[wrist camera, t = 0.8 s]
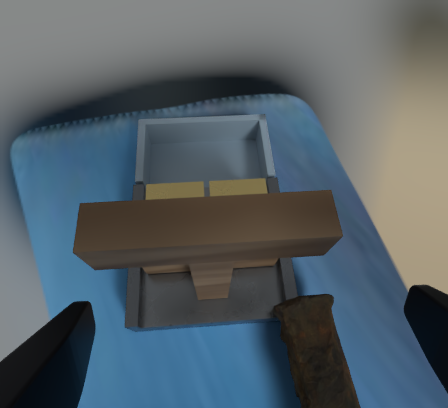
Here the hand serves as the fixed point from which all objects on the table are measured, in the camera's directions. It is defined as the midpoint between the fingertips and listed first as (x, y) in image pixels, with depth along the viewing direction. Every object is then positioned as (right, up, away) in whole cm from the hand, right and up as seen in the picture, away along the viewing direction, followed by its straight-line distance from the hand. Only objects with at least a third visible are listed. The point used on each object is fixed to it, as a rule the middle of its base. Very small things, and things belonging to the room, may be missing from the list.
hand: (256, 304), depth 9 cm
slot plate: (-2, -1, +16) cm, 16 cm away
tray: (-3, +6, +20) cm, 21 cm away
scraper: (-2, -2, +13) cm, 14 cm away
